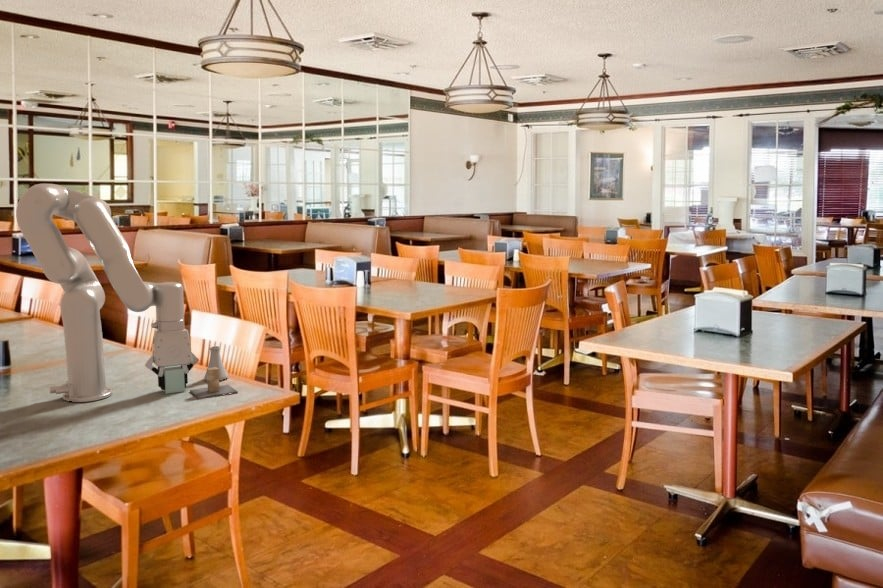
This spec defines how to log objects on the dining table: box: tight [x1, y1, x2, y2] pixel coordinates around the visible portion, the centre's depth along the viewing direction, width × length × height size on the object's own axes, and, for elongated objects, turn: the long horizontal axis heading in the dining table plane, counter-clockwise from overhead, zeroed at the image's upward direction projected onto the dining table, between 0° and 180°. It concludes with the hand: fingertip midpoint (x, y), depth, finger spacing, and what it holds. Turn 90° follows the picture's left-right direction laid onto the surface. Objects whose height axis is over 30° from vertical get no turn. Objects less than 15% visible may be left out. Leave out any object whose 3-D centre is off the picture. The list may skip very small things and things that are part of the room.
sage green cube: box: [162, 365, 186, 395], centre depth 219 cm, size 5×5×7 cm
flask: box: [203, 345, 229, 382], centre depth 232 cm, size 7×7×10 cm
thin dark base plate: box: [189, 367, 239, 400], centre depth 217 cm, size 11×9×7 cm
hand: (173, 387), depth 219 cm, fingers closed on sage green cube, 5 cm apart
